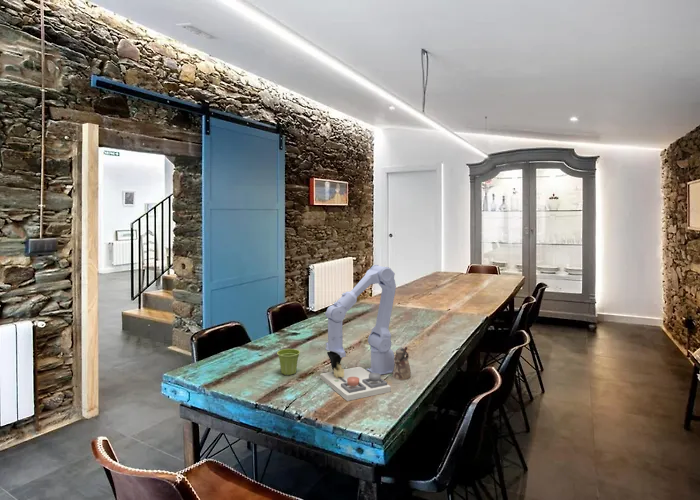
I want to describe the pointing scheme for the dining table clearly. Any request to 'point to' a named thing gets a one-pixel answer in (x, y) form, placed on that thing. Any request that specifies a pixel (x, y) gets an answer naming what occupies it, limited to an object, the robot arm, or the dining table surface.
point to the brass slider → (338, 370)
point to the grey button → (374, 377)
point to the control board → (355, 392)
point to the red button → (353, 381)
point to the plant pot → (288, 360)
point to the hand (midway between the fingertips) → (335, 369)
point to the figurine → (401, 365)
